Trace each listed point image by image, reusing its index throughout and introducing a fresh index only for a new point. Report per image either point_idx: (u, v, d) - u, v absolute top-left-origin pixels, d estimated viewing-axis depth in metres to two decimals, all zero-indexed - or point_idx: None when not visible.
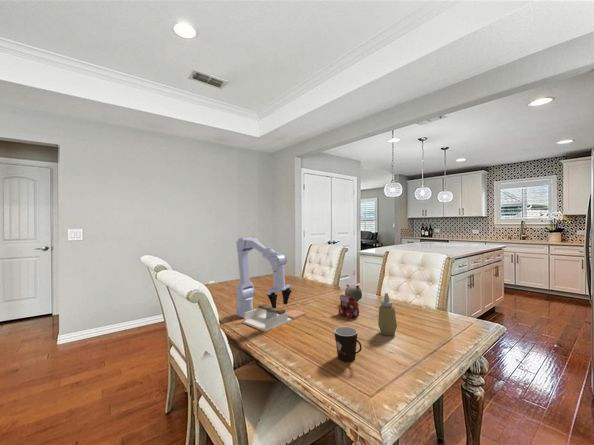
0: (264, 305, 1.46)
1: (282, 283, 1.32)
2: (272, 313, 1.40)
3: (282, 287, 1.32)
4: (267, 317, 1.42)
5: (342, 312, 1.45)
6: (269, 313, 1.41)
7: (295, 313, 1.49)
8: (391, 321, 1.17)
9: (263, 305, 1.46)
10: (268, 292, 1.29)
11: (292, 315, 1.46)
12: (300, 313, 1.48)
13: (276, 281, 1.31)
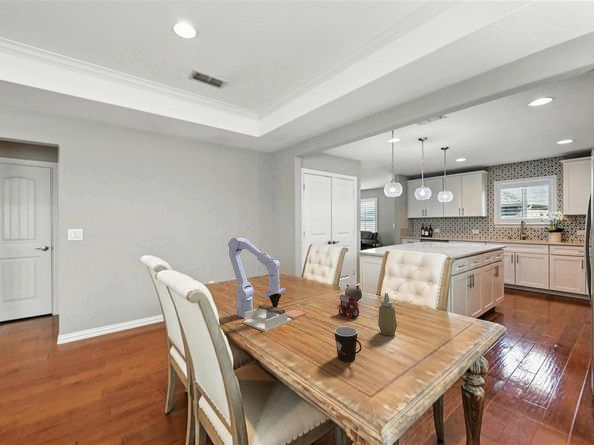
0: (264, 305, 1.46)
1: (277, 287, 1.42)
2: (272, 313, 1.40)
3: (277, 290, 1.42)
4: (267, 317, 1.42)
5: (342, 312, 1.45)
6: (269, 313, 1.41)
7: (295, 313, 1.49)
8: (391, 321, 1.17)
9: (263, 305, 1.46)
10: (264, 295, 1.39)
11: (292, 315, 1.46)
12: (300, 313, 1.48)
13: (271, 285, 1.42)
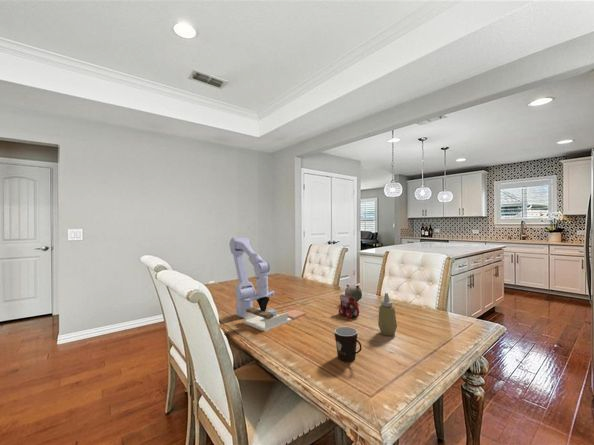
0: (252, 309, 1.40)
1: (265, 290, 1.36)
2: (272, 313, 1.40)
3: (265, 294, 1.36)
4: None
5: (342, 312, 1.45)
6: None
7: (295, 313, 1.49)
8: (391, 321, 1.17)
9: (251, 309, 1.40)
10: (251, 299, 1.33)
11: (292, 315, 1.46)
12: (300, 313, 1.48)
13: (259, 288, 1.36)
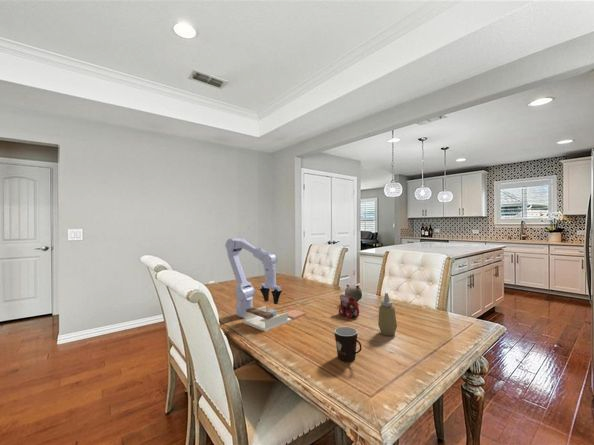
0: (252, 309, 1.40)
1: (266, 281, 1.41)
2: (272, 313, 1.40)
3: (266, 285, 1.41)
4: None
5: (342, 312, 1.45)
6: None
7: (295, 313, 1.49)
8: (391, 321, 1.17)
9: (251, 309, 1.40)
10: None
11: (292, 315, 1.46)
12: (300, 313, 1.48)
13: None
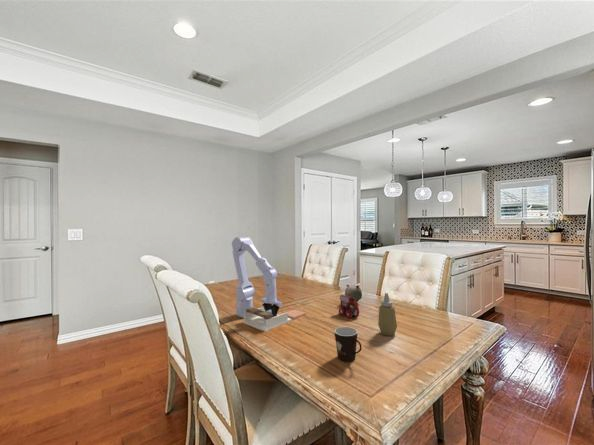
0: (252, 309, 1.40)
1: (266, 296, 1.41)
2: None
3: (266, 300, 1.41)
4: None
5: (342, 312, 1.45)
6: None
7: (295, 313, 1.49)
8: (391, 321, 1.17)
9: (251, 309, 1.40)
10: None
11: (292, 315, 1.46)
12: (300, 313, 1.48)
13: None
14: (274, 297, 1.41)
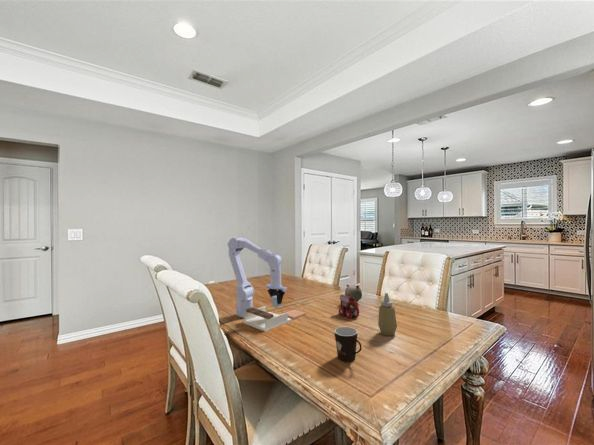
0: (252, 309, 1.40)
1: (271, 282, 1.42)
2: None
3: (271, 285, 1.42)
4: (272, 303, 1.43)
5: (342, 312, 1.45)
6: (274, 299, 1.42)
7: (295, 313, 1.49)
8: (391, 321, 1.17)
9: (251, 309, 1.40)
10: None
11: (292, 315, 1.46)
12: (300, 313, 1.48)
13: None
14: (279, 283, 1.42)
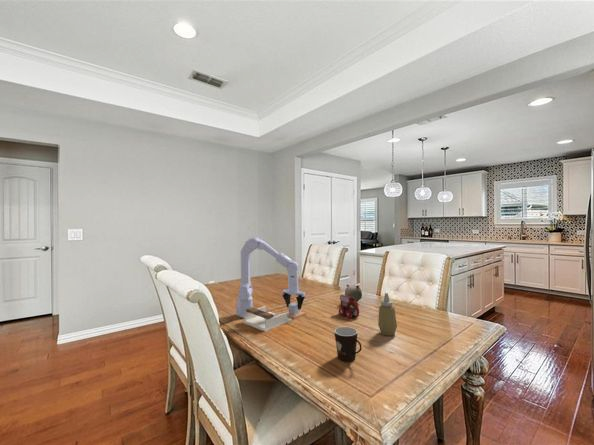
0: (252, 309, 1.40)
1: (289, 287, 1.47)
2: (295, 306, 1.47)
3: (289, 291, 1.47)
4: (290, 310, 1.48)
5: (342, 312, 1.45)
6: (292, 306, 1.47)
7: None
8: (391, 321, 1.17)
9: (251, 309, 1.40)
10: None
11: (292, 315, 1.46)
12: (300, 313, 1.48)
13: None
14: (297, 288, 1.48)
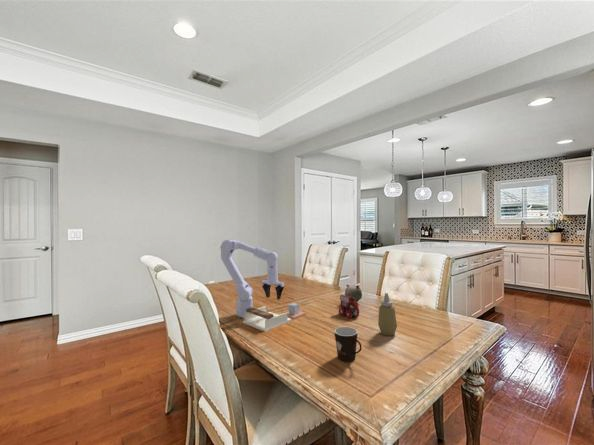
0: (252, 309, 1.40)
1: (269, 278, 1.48)
2: (295, 306, 1.47)
3: (269, 281, 1.48)
4: (290, 310, 1.48)
5: (342, 312, 1.45)
6: (292, 306, 1.47)
7: None
8: (391, 321, 1.17)
9: (251, 309, 1.40)
10: None
11: (292, 315, 1.46)
12: (300, 313, 1.48)
13: None
14: (276, 278, 1.49)
